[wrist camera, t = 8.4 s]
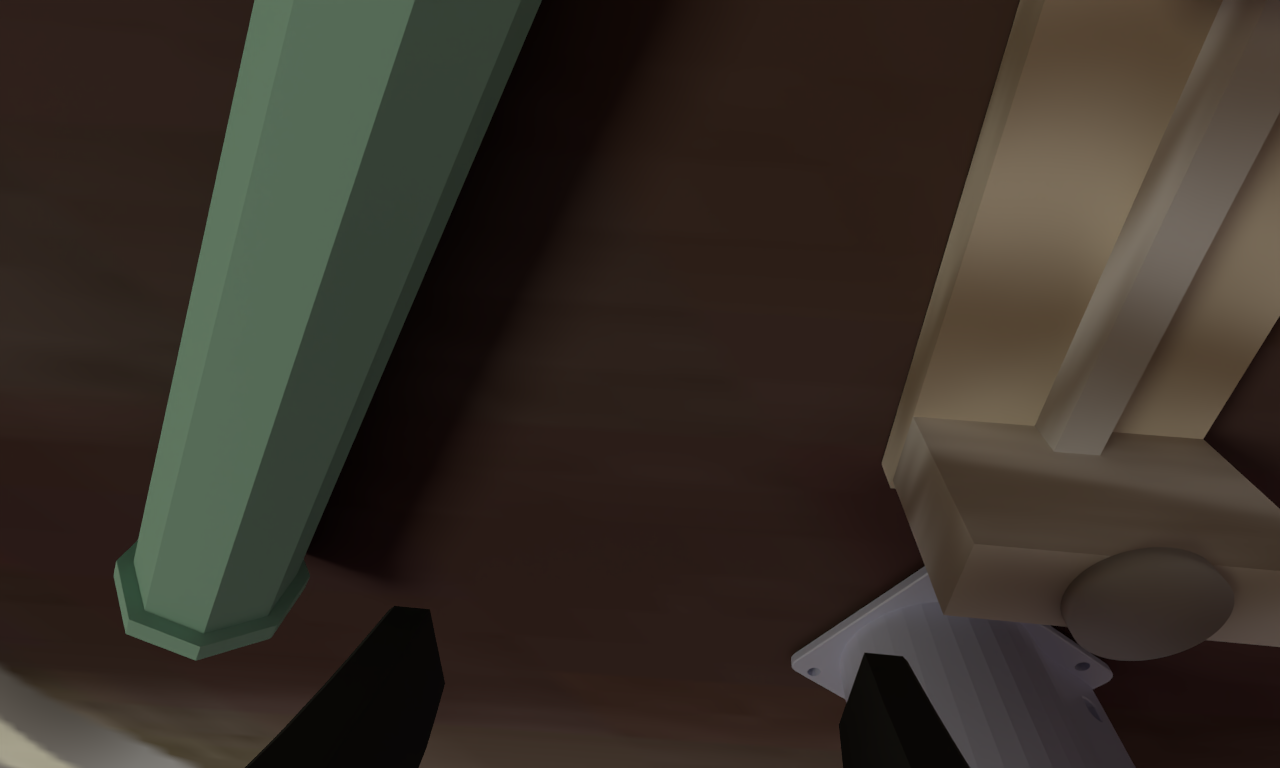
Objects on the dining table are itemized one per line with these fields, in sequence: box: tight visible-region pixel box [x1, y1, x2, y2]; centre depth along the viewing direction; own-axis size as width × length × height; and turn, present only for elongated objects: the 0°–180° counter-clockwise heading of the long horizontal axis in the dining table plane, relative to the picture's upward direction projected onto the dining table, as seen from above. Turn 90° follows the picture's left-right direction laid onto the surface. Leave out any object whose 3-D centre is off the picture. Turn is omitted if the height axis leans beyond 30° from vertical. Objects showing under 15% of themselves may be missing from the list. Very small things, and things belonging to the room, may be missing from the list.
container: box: [114, 0, 542, 660], centre depth 17 cm, size 6×6×25 cm
